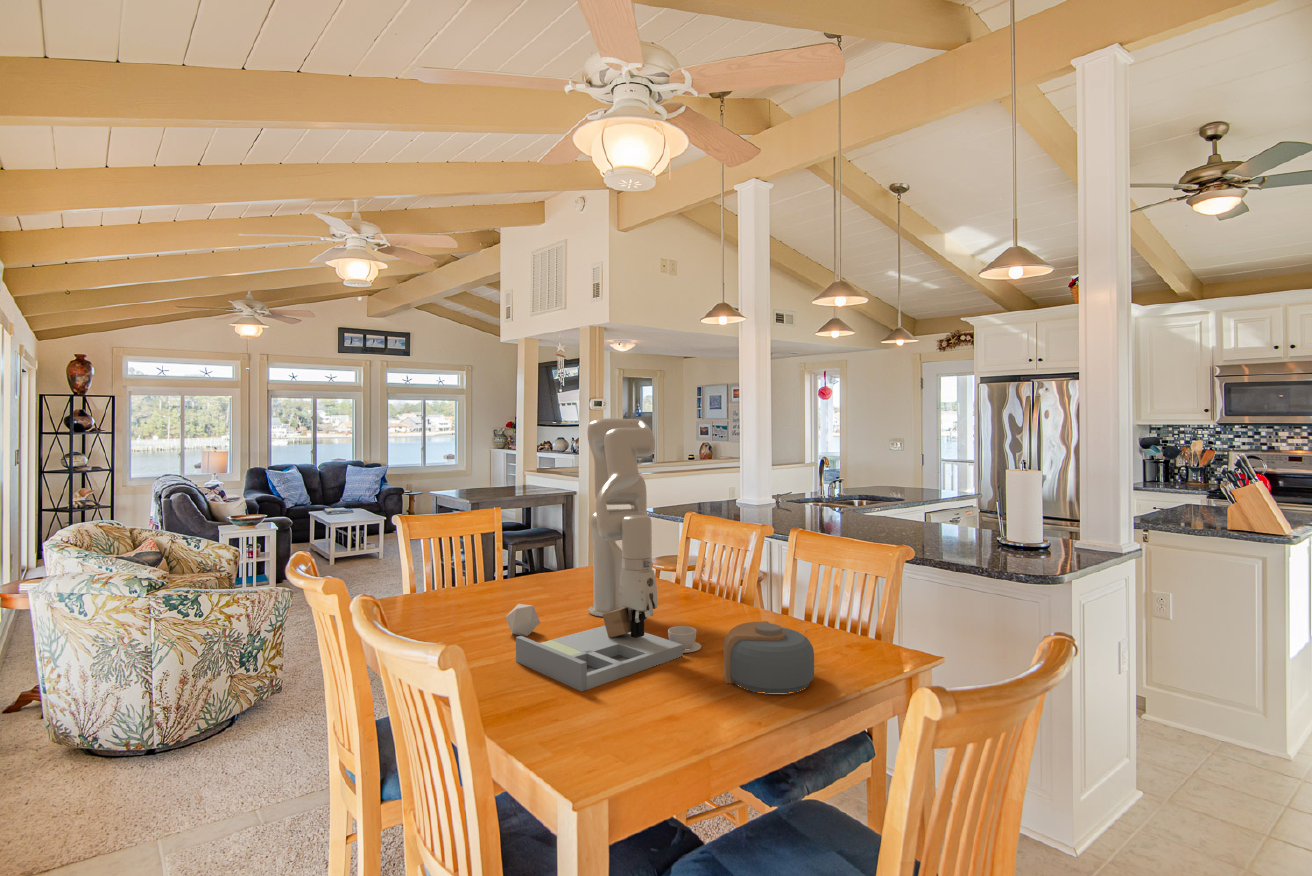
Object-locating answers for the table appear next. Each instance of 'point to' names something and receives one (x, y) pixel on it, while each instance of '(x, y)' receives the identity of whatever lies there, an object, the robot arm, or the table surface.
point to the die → (522, 619)
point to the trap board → (595, 656)
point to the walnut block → (617, 622)
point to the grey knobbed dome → (768, 658)
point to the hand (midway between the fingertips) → (637, 636)
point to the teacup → (684, 637)
